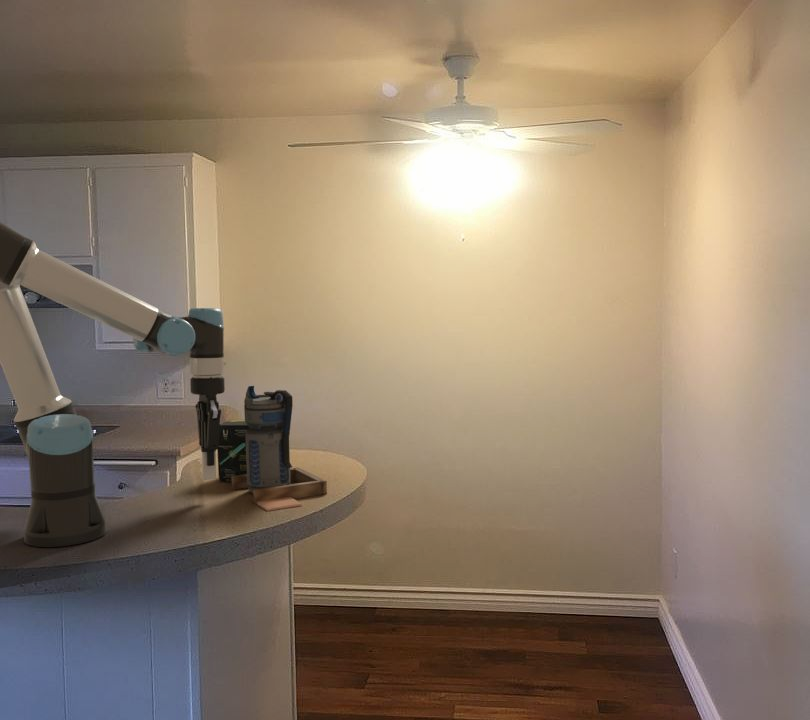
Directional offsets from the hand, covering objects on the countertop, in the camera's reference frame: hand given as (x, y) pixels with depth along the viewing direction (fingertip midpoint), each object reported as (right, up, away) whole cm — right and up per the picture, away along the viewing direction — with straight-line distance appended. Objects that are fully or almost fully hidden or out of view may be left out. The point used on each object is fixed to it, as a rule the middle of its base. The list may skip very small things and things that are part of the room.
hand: (209, 478), depth 189 cm
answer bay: (+14, -4, +7) cm, 17 cm away
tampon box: (+4, -3, +22) cm, 23 cm away
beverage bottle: (+13, -4, +7) cm, 16 cm away
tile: (+16, -5, -5) cm, 18 cm away
